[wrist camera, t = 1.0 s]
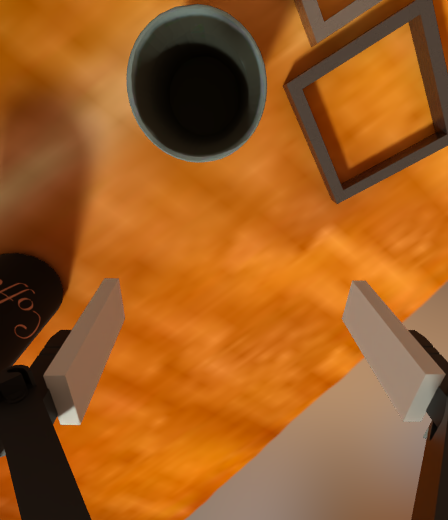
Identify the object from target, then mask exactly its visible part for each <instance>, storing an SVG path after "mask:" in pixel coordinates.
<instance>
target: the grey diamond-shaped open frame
mask: <svg viewBox="0 0 448 520" xmlns="http://www.w3.org/2000/svg"><path fill="white" fill-rule="evenodd" d="M381 1H382V0H356V1H354V2H353V3H351V4H350V5H348V6H347V7H345V8H344V9H343V10H341V11H340V12H338V13H337V14H335V15H334V16H332V17H331V18H329V19H328V20H326V21H325V22H324V20H323V17H322V14H321V11H320V9H319V6H318V3H317V0H294V2H295V5H296V7H297V10H298V13H299V15H300V18H301V21H302V23H303V26H304V29H305V32H306V34H307V37H308V40H309V42H310V45H311V47H313V46H314V45H316V44H317V43H319V42H320V41H322V40H323V39H325V38H326V37H328V36H329V35H331V34H332V33H334V32H335V31H337V30H338V29H340V28H341V27H343V26H344V25H346V24H347V23H349V22H350V21H352V20H353V19H355V18H356V17H358V16H359V15H361V14H362V13H364V12H365V11H367V10H368V9H370V8H371V7H373V6H374V5H376V4H377V3H379V2H381Z"/></svg>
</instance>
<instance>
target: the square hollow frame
mask: <svg viewBox="0 0 448 520" xmlns="http://www.w3.org/2000/svg"><path fill="white" fill-rule="evenodd" d="M407 22H409V25H410V30H411V34H412V38H413V42H414V46H415V50H416V54H417V58H418V62H419V67H420V71H421V75H422V79H423V83H424V87H425V91H426V95H427V100H428V104H429V108H430V112H431V116H432V120H433V124H434V128H435V134H433V135H431V136H429V137H428V138H426V139H424V140H422V141H420V142H418V143H416V144H415V145H413V146H411V147H409V148H407V149H405V150H404V151H402V152H400V153H398V154H396V155H394V156H393V157H391V158H389V159H387V160H385V161H383V162H381V163H380V164H378V165H376V166H374V167H372V168H370V169H369V170H367V171H365V172H363V173H361V174H359V175H357V176H356V177H354V178H352V179H350V180H348V181H346V182H345V183H343V184H340V181H339V179H338V176H337V174H336V171H335V169H334V166H333V164H332V161H331V159H330V157H329V154H328V152H327V149H326V147H325V144H324V142H323V139H322V137H321V134H320V132H319V129H318V127H317V124H316V122H315V120H314V117H313V115H312V112H311V110H310V107H309V105H308V102H307V100H306V97H305V95H304V92H303V90H302V89H303V88H305V87H306V86H308V85H309V84H311V83H313V82H314V81H316V80H317V79H319V78H321V77H322V76H324V75H325V74H327V73H328V72H330V71H332V70H333V69H335V68H336V67H338V66H339V65H341V64H343V63H344V62H346V61H347V60H349V59H350V58H352V57H354V56H355V55H357V54H358V53H360V52H362V51H363V50H365V49H366V48H368V47H369V46H371V45H373V44H374V43H376V42H377V41H379V40H380V39H382V38H384V37H385V36H387V35H388V34H390V33H392V32H393V31H395V30H396V29H398V28H399V27H401V26H403V25H404V24H406V23H407ZM283 88H284V90H285V92H286V95H287V97H288V99H289V102H290V104H291V106H292V109H293V111H294V113H295V116H296V118H297V120H298V123H299V125H300V127H301V130H302V132H303V134H304V136H305V139H306V141H307V143H308V146H309V148H310V150H311V153H312V155H313V157H314V160H315V162H316V164H317V167H318V169H319V171H320V174H321V176H322V178H323V181H324V183H325V185H326V188H327V190H328V192H329V195H330V197H331V199H332V200H333V201H334V202H335V203H337V204H338V203H340V202H342V201H344V200H346V199H348V198H350V197H351V196H353V195H355V194H357V193H359V192H361V191H363V190H365V189H367V188H368V187H370V186H372V185H374V184H376V183H378V182H380V181H382V180H384V179H385V178H387V177H389V176H391V175H393V174H395V173H397V172H399V171H401V170H402V169H404V168H406V167H408V166H410V165H412V164H414V163H416V162H418V161H420V160H421V159H423V158H425V157H427V156H429V155H431V154H433V153H435V152H437V151H438V150H440V149H442V148H444V147H446V146H448V73H447V69H446V64H445V59H444V54H443V49H442V45H441V40H440V35H439V30H438V25H437V21H436V16H435V11H434V6H433V1H432V0H415V1H413V2H412V3H410V4H408V5H407V6H405V7H404V8H402V9H401V10H399V11H398V12H396V13H394V14H393V15H391V16H390V17H388V18H387V19H385V20H384V21H382V22H381V23H379V24H377V25H376V26H374V27H373V28H371V29H370V30H368V31H367V32H365V33H364V34H362V35H360V36H359V37H357V38H356V39H354V40H353V41H351V42H350V43H348V44H347V45H345V46H343V47H342V48H340V49H339V50H337V51H336V52H334V53H333V54H331V55H330V56H328V57H326V58H325V59H323V60H322V61H320V62H319V63H317V64H316V65H314V66H313V67H311V68H309V69H308V70H306V71H305V72H303V73H302V74H300V75H299V76H297V77H296V78H294V79H292V80H291V81H289V82H288V83H286V84H285V85H283Z"/></svg>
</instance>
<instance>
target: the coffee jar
mask: <svg viewBox="0 0 448 520" xmlns="http://www.w3.org/2000/svg"><path fill="white" fill-rule="evenodd" d="M62 300H63V288H62V284H61V282H60V279H59V277H58V275H57V274H56V272H55V271H54V270H53V269H52V268H51V267H50V266H49V265H48V264H46V263H45V262H44V261H42V260H40V259H38V258H36V257H34V256H29V255H25V254H19V253H11V254H2V255H0V371H2V370H3V369H5V368H8V367H11V366H13V364H14V363H15V362H16V361H17V359H18V358H19V357H20V356H21V354H22V353H23V352H24V351H25V350H26V348H27V347H28V346H29V345H30V343H31V342H32V341H33V340H34V338H35V337H36V336H37V335H38V333H39V332H40V331H41V330H42V329H43V327H44V326H45V325H46V324H47V322H48V321H49V320H50V319H51V317H52V316H53V315H54V314H55V313H56V311H57V310H58V309H59V307H60V305H61V303H62Z"/></svg>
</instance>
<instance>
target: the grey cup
mask: <svg viewBox="0 0 448 520" xmlns="http://www.w3.org/2000/svg"><path fill="white" fill-rule="evenodd" d="M127 92H128V97H129V102H130V106H131V109H132V112H133V114H134V117H135V119H136V121H137V123H138V125H139V126H140V128H141V129H142V131H143V132H144V133H145V135H146V136H147V137H148V138H149V139H150V140H151V141H152V142H153V143H154V144H155V145H156V146H157V147H158V148H160V149H161V150H162V151H164V152H165V153H167V154H169V155H171V156H173V157H175V158H178V159H181V160H185V161H189V162H208V161H214V160H218V159H221V158H224V157H226V156H229V155H230V154H232V153H233V152H235V151H236V150H238V149H239V148H240V147H241V146H242V145H243V144H244V143H245V142H246V141H247V140H248V139H249V138H250V136H251V135H252V134H253V133H254V131H255V129H256V127H257V126H258V124H259V121H260V119H261V117H262V114H263V110H264V107H265V102H266V94H267V77H266V70H265V65H264V62H263V58H262V55H261V52H260V50H259V48H258V46H257V44H256V42H255V40H254V39H253V37H252V36H251V34H250V33H249V32H248V31H247V29H246V28H245V27H244V26H243V25H242V24H241V23H240V22H239V21H237V20H236V19H235V18H234V17H232V16H231V15H230V14H228V13H226V12H224V11H222V10H220V9H218V8H215V7H212V6H208V5H201V4H194V5H187V6H179V7H174V8H172V9H170V10H168V11H166V12H164V13H161V14H160V15H158V16H157V17H156V18H155V19H153V20H152V21H151V22H150V23H149V24H148V25H147V26H146V27H145V28H144V30H143V31H142V32H141V33H140V35H139V36H138V38H137V40H136V42H135V44H134V46H133V49H132V51H131V54H130V58H129V62H128V68H127Z"/></svg>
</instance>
